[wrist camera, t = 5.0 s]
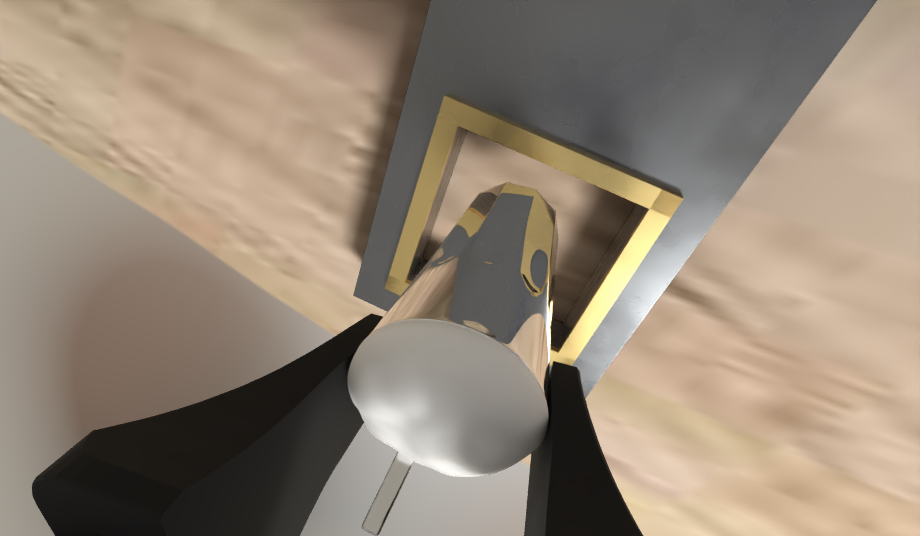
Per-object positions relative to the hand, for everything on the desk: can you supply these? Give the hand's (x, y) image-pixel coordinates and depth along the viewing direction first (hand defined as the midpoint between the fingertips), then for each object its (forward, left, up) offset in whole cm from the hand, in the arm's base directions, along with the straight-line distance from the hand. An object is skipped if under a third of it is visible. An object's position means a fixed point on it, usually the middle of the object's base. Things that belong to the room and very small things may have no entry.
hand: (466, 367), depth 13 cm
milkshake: (+1, -1, -6) cm, 6 cm away
